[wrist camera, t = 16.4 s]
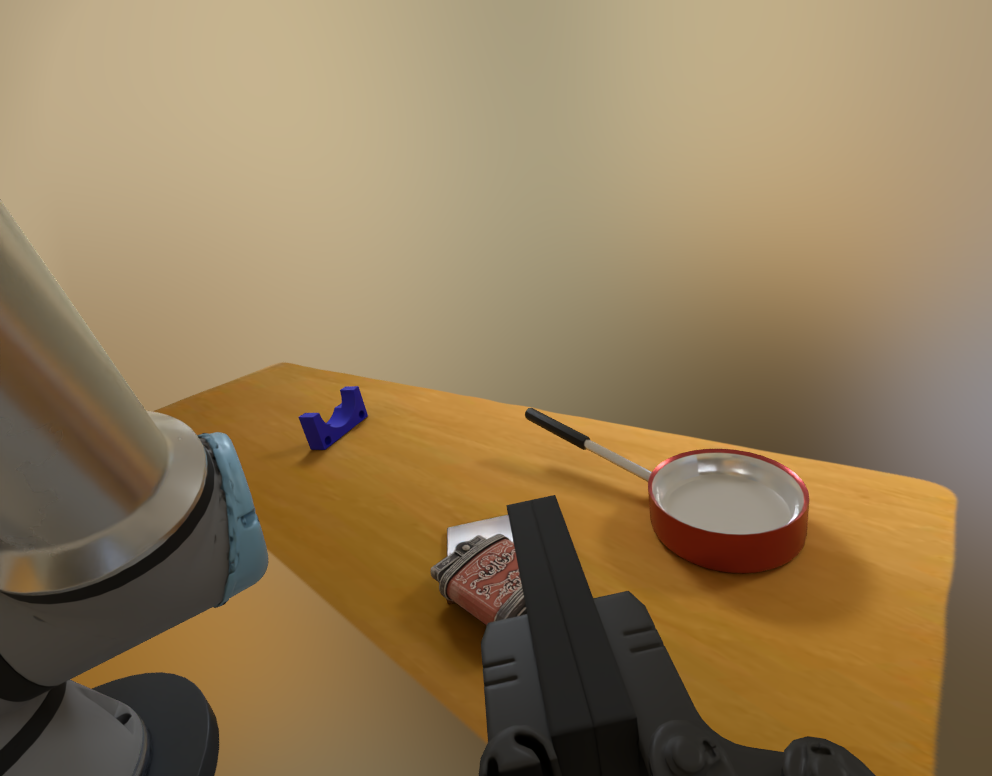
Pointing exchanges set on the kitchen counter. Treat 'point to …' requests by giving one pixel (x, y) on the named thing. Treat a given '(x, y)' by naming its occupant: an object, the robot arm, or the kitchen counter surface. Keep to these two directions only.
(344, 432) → the blue notched block
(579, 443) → the frying pan
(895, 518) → the kitchen counter surface
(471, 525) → the plate
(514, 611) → the lighter
